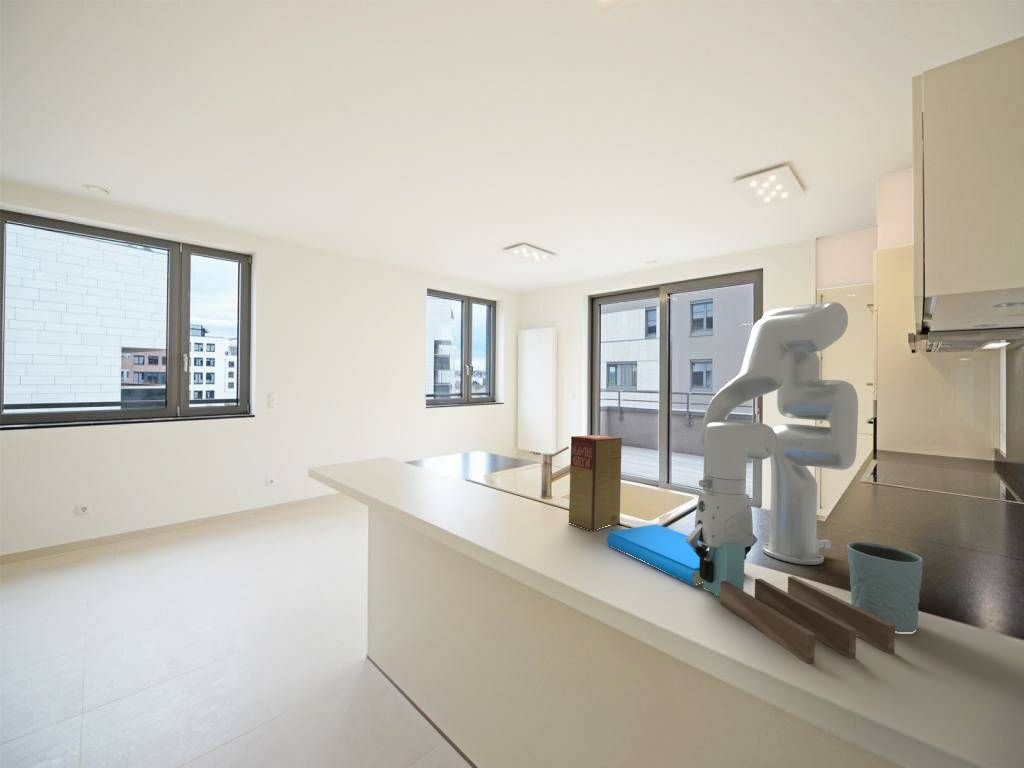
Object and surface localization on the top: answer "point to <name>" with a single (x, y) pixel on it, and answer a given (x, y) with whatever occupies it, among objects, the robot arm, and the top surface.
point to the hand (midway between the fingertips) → (720, 578)
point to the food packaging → (595, 481)
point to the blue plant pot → (886, 583)
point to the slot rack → (807, 618)
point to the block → (727, 567)
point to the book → (659, 550)
